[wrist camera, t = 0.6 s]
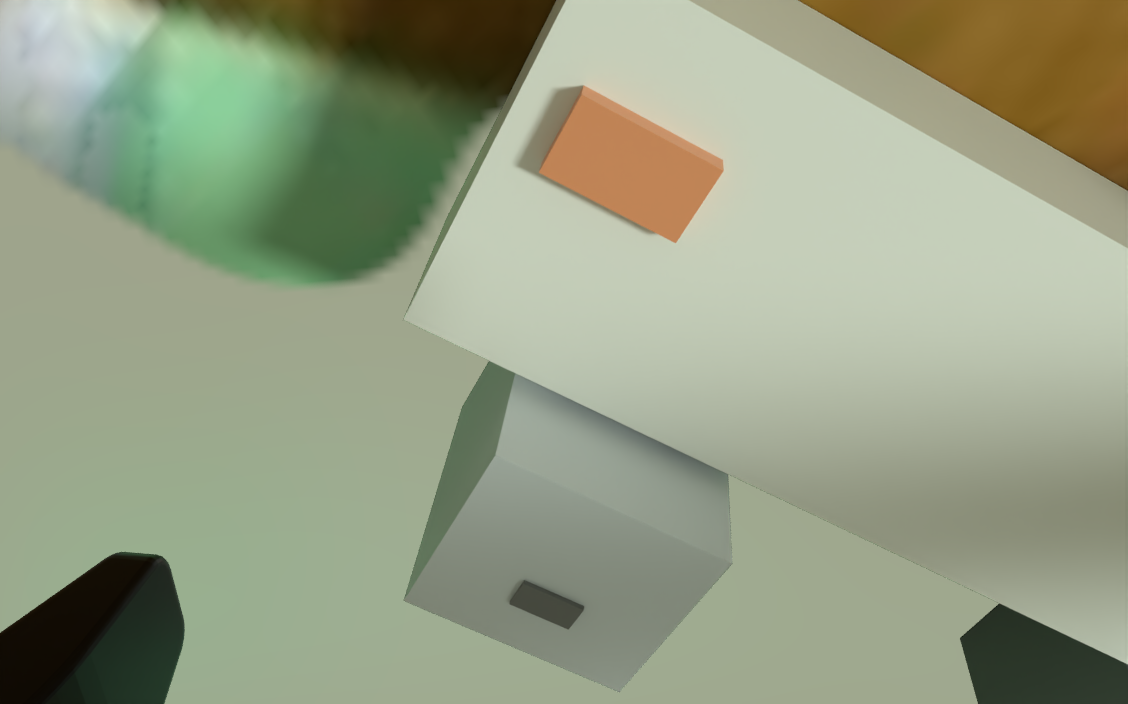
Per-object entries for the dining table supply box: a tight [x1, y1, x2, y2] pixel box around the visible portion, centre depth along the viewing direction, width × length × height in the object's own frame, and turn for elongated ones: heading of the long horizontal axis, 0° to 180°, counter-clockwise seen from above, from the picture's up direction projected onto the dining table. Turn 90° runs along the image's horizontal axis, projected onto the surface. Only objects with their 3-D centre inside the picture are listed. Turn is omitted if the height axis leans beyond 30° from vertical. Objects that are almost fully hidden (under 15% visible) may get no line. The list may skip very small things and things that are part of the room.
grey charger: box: [404, 361, 732, 692], centre depth 21 cm, size 4×6×6 cm
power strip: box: [404, 0, 1128, 664], centre depth 20 cm, size 22×7×4 cm, turn 63°
